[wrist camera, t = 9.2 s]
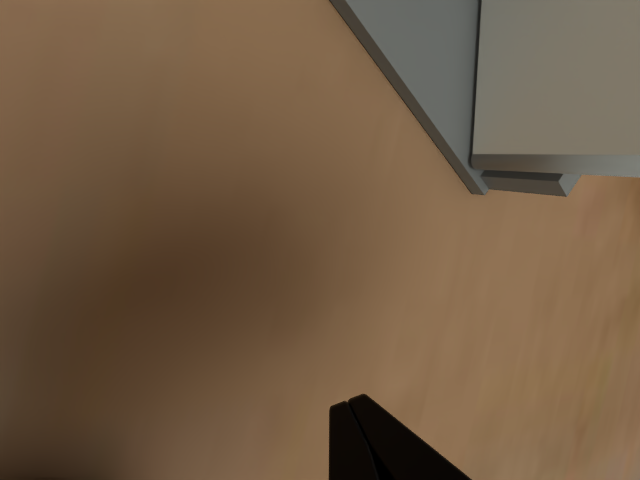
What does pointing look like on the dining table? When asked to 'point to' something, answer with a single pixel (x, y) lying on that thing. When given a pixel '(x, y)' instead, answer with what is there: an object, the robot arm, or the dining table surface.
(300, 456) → the dining table surface
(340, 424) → the robot arm
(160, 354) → the dining table surface
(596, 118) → the side door
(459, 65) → the grey open box
